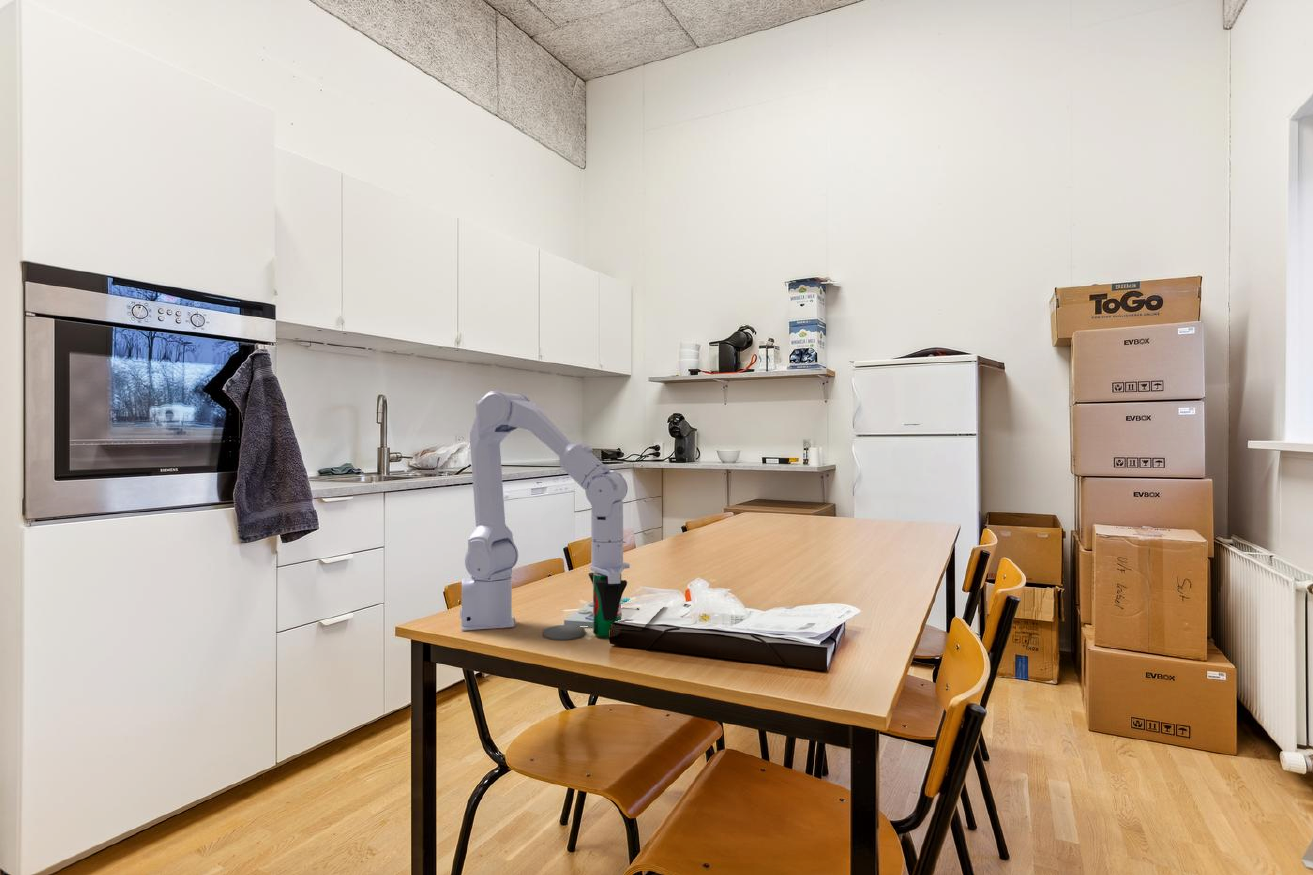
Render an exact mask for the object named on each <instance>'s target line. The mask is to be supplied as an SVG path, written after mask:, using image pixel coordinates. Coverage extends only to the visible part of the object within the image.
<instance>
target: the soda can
mask: <svg viewBox="0 0 1313 875" xmlns="http://www.w3.org/2000/svg"><path fill="white" fill-rule="evenodd" d="M593 573H594V574H593V584H592V587H593V588H592V600H593V628H592V633H593V634H594V636H596V637H597V638H600V639H610V638H609V630H610V626H611V624H612V623H613V622H615V621H618V620H621V619H622V608H621V600H620V604H619V609H618V614H617V618H616V620H608V621H605V620H604V618H603V614H602V607H601V600H600V596H599V592H598V590H597V587H596V585H595V583H594V580H605V577H607V576H606V575H603V574H600V573H597V572H595V571H593ZM620 580H622V572H621V573H620Z"/></svg>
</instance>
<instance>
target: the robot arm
mask: <svg viewBox="0 0 1313 875" xmlns="http://www.w3.org/2000/svg"><path fill="white" fill-rule="evenodd" d="M518 428H519V429H523V430H528V431H530V433H531V434H533V435H534V436H535V437H536V438H538V439H539V440H540V441H541V442H542V443H543V444H545V445H546V447H548V448H549V449H550V450H552V451H553V453H555V454H556V455H557V456H558V457H559V466H560V468H561V469H562V470H563V471H564V472H565V473H566V474H568V476H570V477H571V478H572V479H573V480H574V482H576V483H577V484H578V485H579V486H580V487H581V488H582V489H583V490H585V497H586V499H587V500H588V502H589V503H590V506H591V517H590V518H591V523H590V524H591V528H590V529H591V530H590V531H591V532H590V533H591V537H590V538H591V542H590V544H591V546H590V547H591V548H590V549H591V550H590V551H591V553H590V554H591V557H590V559H591V562H590V565H589V570H590V571H592V572H589V573H588V574H587V575H588V577H589V578H590V581H591V583H592V585H593V574H594V572H597V573H600V574H603V575H606V576H607V577H605V580H594V583H595V585H596V587H597V590H598V592H599V596H600V600H601V607H602V614H603V618H604V620H605V621H608V620H616V618H617V614H618V609H619V604H620V600H621V599H622V597H623V593H624V591H625V589H626V587H627V585H628V581H627V580H625V579H621V580H620V573H621V574H622V573H623V571H624V570H625V569H630V568H631V564H630V563H628V562H624V501H623V500H624V499H625V498H626V497H627V494H628V488H629V487H628V483H627V481H626V479H625V478H624V476H623V475H622V473H620V472H618V471H611V468H612V467H611V466H610V465H609V464H605V463H604V462H602V461H601V460H600V459H599V458H598V457H596V456H595V455H594V453H592V452H593V451H594V450H593V448H592V447H591V446H590V445H584V444H583V443H572V441H570V440H569V439H568V437H567V436H566V435H564V433H563V432H562V431H561V430H560V429H559V427H557V426H556V425H555V424H554V423H553V422H552V421H551V420H550V418H549V417H548V416H547V415H546V414H545V413H544V412H543V411H542V410H541V409H540V407H539V406H538V405H537V404H536V403H535V402H534V401H531V400H530V398H529V397H528V396H527V395H525V394H523V393H509V392H503V391H502V392H501V391H499V390H492V391H489V392H487V393H485V394H484V395H483V396H482V397H481V399H479V400H478V401H477V402H476V403H475V418H474V421H473V424H472V426H471V430H470V432H469V445H470V458H471V459H470V460H471V470H472V471H471V472H472V474H471V475H472V489H473V490H472V491H473V501H474V502H473V504H474V506H473V507H474V516H475V528H474V530H473V531H472V533H471V535H470V536H469V537H468V538H467V552H466V553H465V557H464V566H465V569H466V571H467V572H468V574H469V575H470V576H471V577H469V578H462V579H461V608H460V609H459V618H460V619H461V631H474V630H488V629H489V630H490V629H502V628H503V629H504V628H505V629H507V628H514V627H515V620H514V614H513V613H512V611H513V610H512V608H513V607H512V603H513V602H512V599H513V598H512V595H513V594H512V592H513V590H512V589H513V588H512V586H513V585H512V583H513V582H512V576H513V575H512V574H513V568H514V567H515V566H516V564H517V562H518V561H519V551H518V547H517V546H516V544H515V542H514V538H513V532H512V531H511V529H510V528H509V527H508V526H507V524H506V516H505V514H506V513H505V501H504V487H503V486H504V485H503V473H502V457H501V456H502V455H501V442H502V441H503V440H504V439H505V438H506V437H508V435H509V434H510V433H511V432H513V431H515V430H517V429H518Z"/></svg>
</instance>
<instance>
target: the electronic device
mask: <svg viewBox="0 0 1313 875" xmlns="http://www.w3.org/2000/svg"><path fill="white" fill-rule="evenodd" d="M630 599H631V598H630V597H629V598H621V604H623V603H625V602H627V601H629V600H630ZM563 625H575V626H588V627H593V599H592V600H591V601H589V602H587V604H585V605H583V606H582V607H581V608H580V609H578V610H576V611H574V612H573V613H572V614H571V615H569V616H567V618H565V619H563Z"/></svg>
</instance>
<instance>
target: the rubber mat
mask: <svg viewBox="0 0 1313 875" xmlns="http://www.w3.org/2000/svg"><path fill="white" fill-rule="evenodd" d="M585 629H586V628H585V627H580V626H575V625H564V624H559V625H553V626H549V627H546V628H544V629H543V631H542V636H543V638H545V639H547V640H553V641H569V640H575V639H579V638H583V636H584V635H585V634H586V630H585Z"/></svg>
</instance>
